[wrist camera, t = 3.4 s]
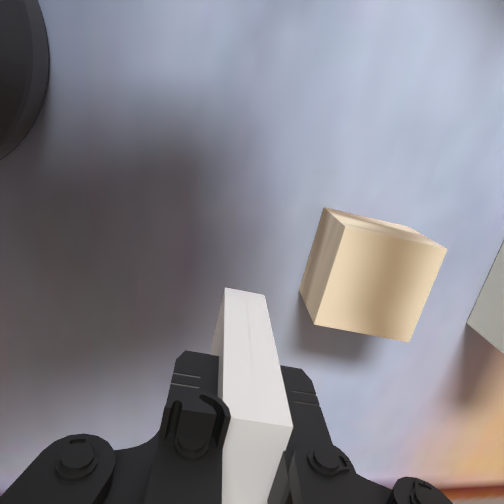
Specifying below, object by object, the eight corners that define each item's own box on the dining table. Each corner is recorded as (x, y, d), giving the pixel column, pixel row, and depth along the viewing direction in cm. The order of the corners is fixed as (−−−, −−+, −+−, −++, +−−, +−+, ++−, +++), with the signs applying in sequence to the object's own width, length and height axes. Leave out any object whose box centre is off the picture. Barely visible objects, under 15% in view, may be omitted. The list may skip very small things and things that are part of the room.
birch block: (298, 289, 27) (313, 324, 22) (323, 207, 25) (345, 226, 20) (378, 304, 28) (409, 342, 23) (407, 226, 26) (447, 249, 21)
